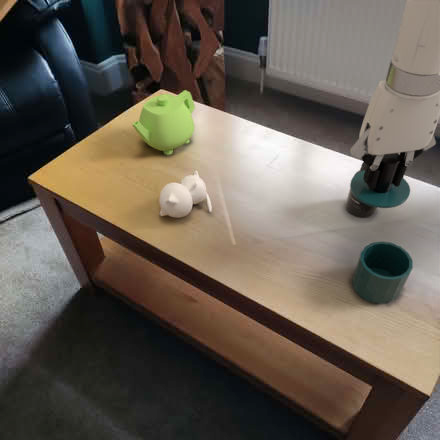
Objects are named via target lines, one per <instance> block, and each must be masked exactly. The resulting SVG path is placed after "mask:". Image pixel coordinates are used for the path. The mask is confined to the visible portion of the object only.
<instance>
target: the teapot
mask: <svg viewBox="0 0 440 440" xmlns="http://www.w3.org/2000/svg"><path fill="white" fill-rule="evenodd" d="M195 109H196V105H195V102H194V100H193V96H192V94H191V92H190V91H189V90H187V89H184V90H182V91H181V92H180V93H179V94H177V95H172V94H169V93H163V94H159V95H156V96H154V97H152V98H149V99H148V100H147V101H146V102H145V103H144V104H143V106H142V108H141V111H140V115H139V118H138V119H139V120H135V121H134V122H133V123H131V125H132V127H133V129H134V130H135V131H136V133H137V134H138V135H139V137H140V138H141V140H142V141H143V142H145V144H147V145H148V146H150V147H151V148H153V149H155V150H157V151H163V154H164V155H171V154H173V152H174V150H175V149H177V148H179V147H181V146H183V145H186V144H189V143H190V139H191V137H192V135H193V134H194V132H195V122H194V119H193V116H192V114H193V112H194V110H195Z"/></svg>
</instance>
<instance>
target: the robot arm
mask: <svg viewBox="0 0 440 440" xmlns="http://www.w3.org/2000/svg"><path fill="white" fill-rule="evenodd" d="M439 119H440V0H406V2H405V5H404V10H403V14H402V16H401V21H400V24H399V28H398V32H397V36H396V40H395V44H394V48H393V52H392V56H391V59H390V62H389V66H388V70H387V74H386V78H385V79H384V80H383V79H382V80H380V81H379V83H378V84H377V86H376V88H375V90H374V92H373V94H372V96H371V99H370V101H369V103H368V106H367V109H366V112H365V115H364V117H363V120H362V124H361V127H360V130H359V135H358V136H359V138H358V139H357V140H356V142H355V143H354V144H353V145H352V146H351V148H350V149H349V150H350V151H349V152H350V153H351V155H352V156H353V157H354V158H356V159H358V160H361V161H363V162H364V163H365V164H367V166H366V169H365V173H364V177H363V179H364V182H365V183H367V185H368V187H369V189H370V190H374V189H375V187H376V183H377V180H378V177H379V174H380V170H379V168H378V167H379V165H380V162H381V160H382V158H383V156H384V154H391V153H398V154H399V155H400V156H401V161H400V164H399V167H398V169H397V172H396V175H395V178H394V181H393V185H394V186H395V187H396V186H399V185H400V183H401V180H402V178H404V176H405V174H406V170H407V169H408V167H410V166H411V165H412V164H413V161H414V160H416V158H418V157H419V156H421V155H422V154H423V152H426V151H428V150H429V149H431V148H433V147H434V146H436V144H437V141H436V139H435V138H436V137H435V131H436V128H437V126H438V122H439ZM366 148H367V150H366ZM363 162H362V163H363Z"/></svg>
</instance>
